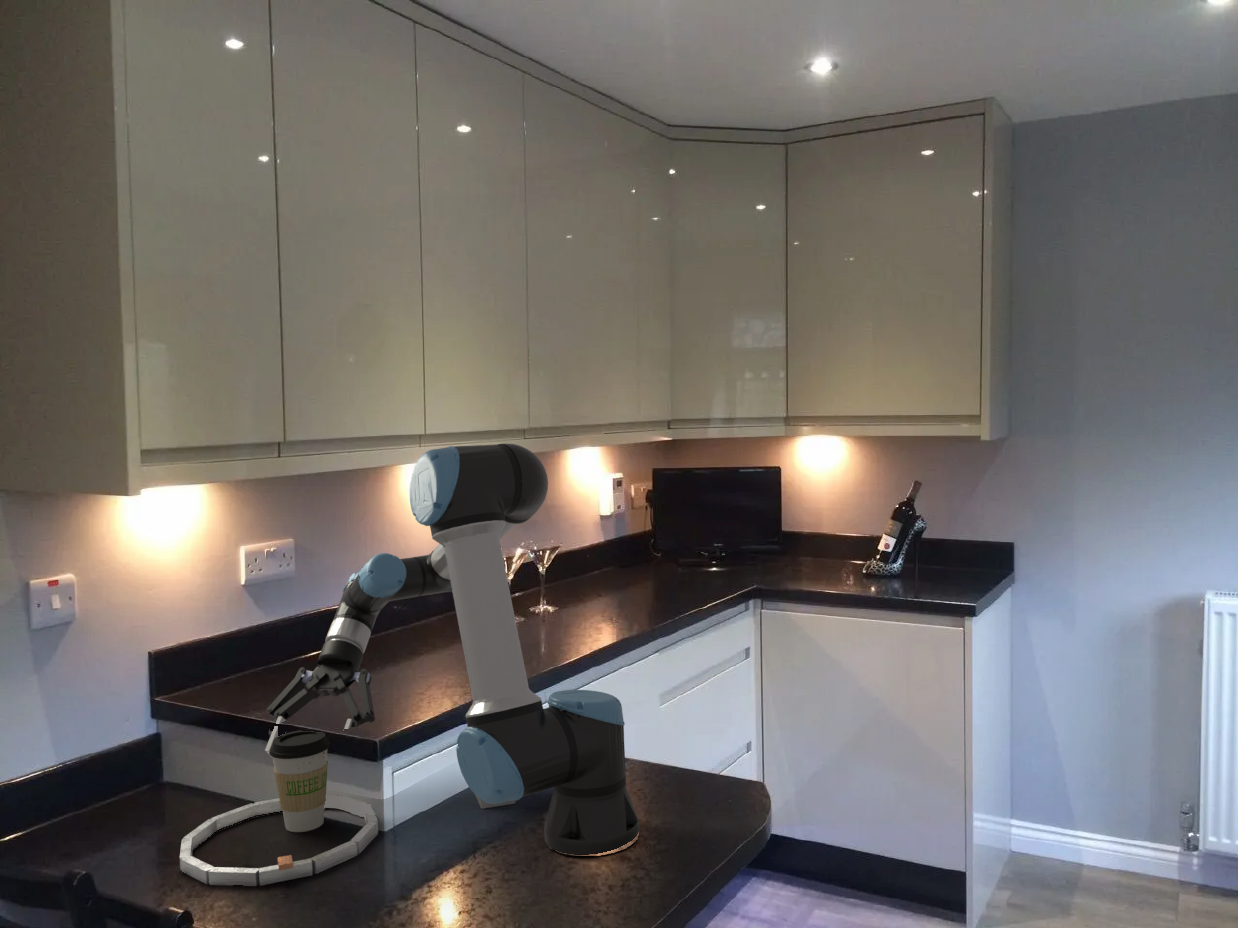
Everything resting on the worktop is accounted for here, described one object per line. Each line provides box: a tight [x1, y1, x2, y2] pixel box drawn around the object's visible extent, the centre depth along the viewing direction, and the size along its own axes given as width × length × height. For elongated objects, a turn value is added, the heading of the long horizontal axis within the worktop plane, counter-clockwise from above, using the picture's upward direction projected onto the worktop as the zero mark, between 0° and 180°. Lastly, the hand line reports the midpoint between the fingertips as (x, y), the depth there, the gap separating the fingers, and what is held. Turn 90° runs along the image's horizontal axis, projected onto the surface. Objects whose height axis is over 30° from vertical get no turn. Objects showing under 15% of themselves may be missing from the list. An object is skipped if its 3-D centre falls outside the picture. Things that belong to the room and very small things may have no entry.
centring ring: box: [179, 797, 379, 887], centre depth 163 cm, size 31×30×3 cm
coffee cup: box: [268, 729, 331, 833], centre depth 169 cm, size 10×10×15 cm
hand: (305, 755), depth 172 cm, fingers open, 13 cm apart
